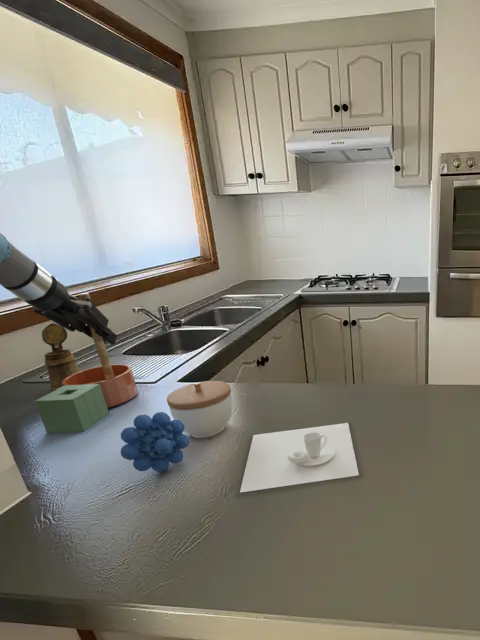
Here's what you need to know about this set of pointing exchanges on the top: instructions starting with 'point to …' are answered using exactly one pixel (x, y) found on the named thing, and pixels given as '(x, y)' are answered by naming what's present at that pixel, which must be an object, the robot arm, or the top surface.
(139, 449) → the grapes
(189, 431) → the lidded bowl
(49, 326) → the wooden barrel with disc
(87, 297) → the stick
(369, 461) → the top surface
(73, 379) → the mixing bowl
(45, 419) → the stick stand
